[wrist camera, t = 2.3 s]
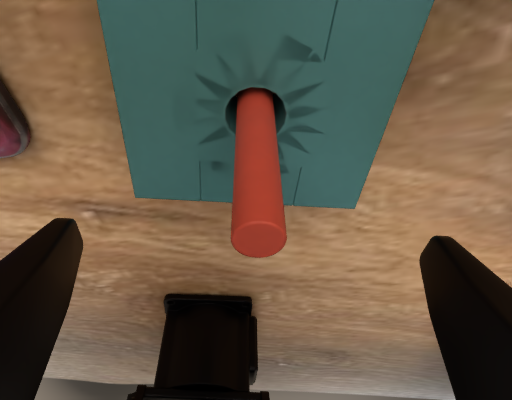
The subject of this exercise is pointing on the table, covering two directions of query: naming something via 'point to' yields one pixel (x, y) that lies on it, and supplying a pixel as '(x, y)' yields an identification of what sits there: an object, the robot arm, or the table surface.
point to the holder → (258, 76)
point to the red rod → (257, 178)
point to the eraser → (11, 126)
